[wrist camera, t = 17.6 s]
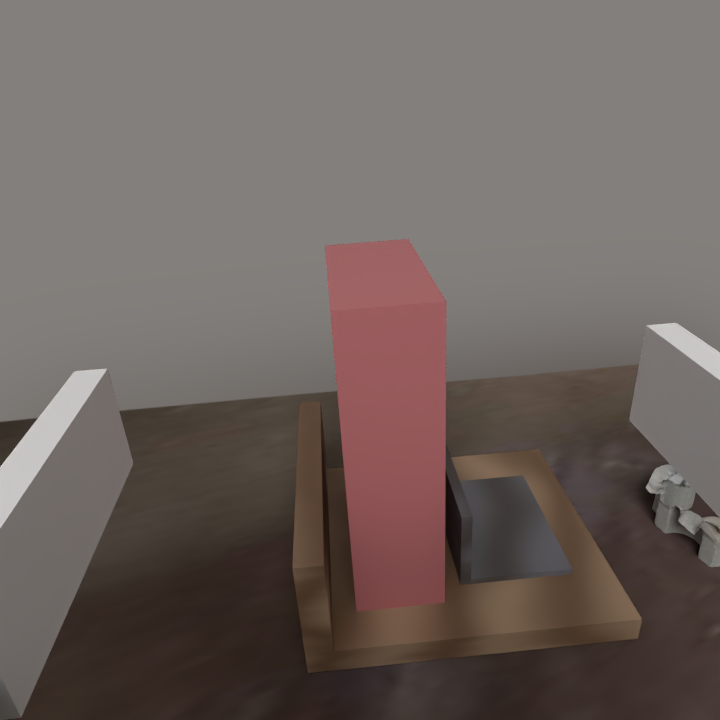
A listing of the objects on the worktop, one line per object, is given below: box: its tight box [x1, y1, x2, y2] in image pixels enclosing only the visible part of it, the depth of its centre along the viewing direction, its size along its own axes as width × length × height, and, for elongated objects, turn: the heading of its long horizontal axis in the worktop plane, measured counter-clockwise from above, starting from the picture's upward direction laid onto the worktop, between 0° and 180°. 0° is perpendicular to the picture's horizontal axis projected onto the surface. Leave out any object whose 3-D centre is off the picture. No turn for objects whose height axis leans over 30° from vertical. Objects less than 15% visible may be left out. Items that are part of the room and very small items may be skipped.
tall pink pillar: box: [325, 239, 446, 612], centre depth 34 cm, size 5×11×18 cm, turn 4°
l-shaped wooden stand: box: [292, 401, 642, 673], centre depth 37 cm, size 18×16×8 cm
